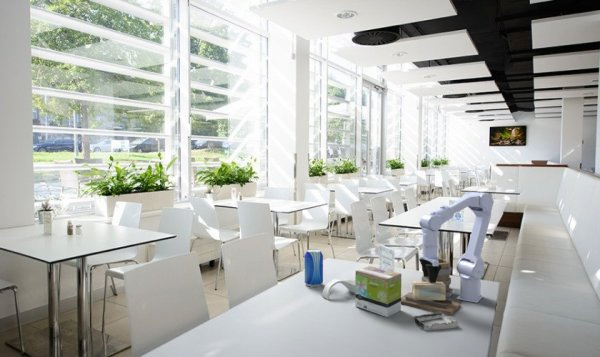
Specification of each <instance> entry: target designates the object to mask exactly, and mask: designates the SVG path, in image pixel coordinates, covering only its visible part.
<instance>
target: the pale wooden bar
mask: <svg viewBox="0 0 600 357" xmlns="http://www.w3.org/2000/svg"><path fill="white" fill-rule="evenodd" d="M411 293H412V297H413V298H414V300H445V299H447V297H446V285H445V284H444V283H443V282H436V283H430V282H422V281H412V284H411Z"/></svg>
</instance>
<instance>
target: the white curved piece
mask: <svg viewBox="0 0 600 357" xmlns="http://www.w3.org/2000/svg"><path fill="white" fill-rule="evenodd" d="M337 284H342V285H343V286H344V287H345V288H346V289H347V290H348V291H349V292H350V293H352V294H354V295H355V279H344V278H343V279H342V278H334V279H331V280H330V281H329V282H328V283H327V284H326V285H324V288H323V290H322V295H321V297H322V298H324V299H326V300H330V297H331V296H330V295H331V294H330V293H331V291H332V288H333V287H334V286H336V285H337Z"/></svg>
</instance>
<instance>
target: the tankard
mask: <svg viewBox="0 0 600 357" xmlns="http://www.w3.org/2000/svg"><path fill="white" fill-rule="evenodd" d="M438 261H439V265H441V266H442V268H441V269H440V271H439V273H438V276H437V280H436V282H443V283H444V284H445V285H446V298H449V297H451V296H452V295H453V293H454V292H453V291H454V290H453V288H450V285H451V284H452V278H451V277H450V275H451V273H452V267H451V261H450V260H448V259H445V258H444V253H443V252H438ZM421 271H422V272H423V270H422V269H421ZM421 282H430V281H429V277H424V274H422V277H421Z"/></svg>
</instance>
